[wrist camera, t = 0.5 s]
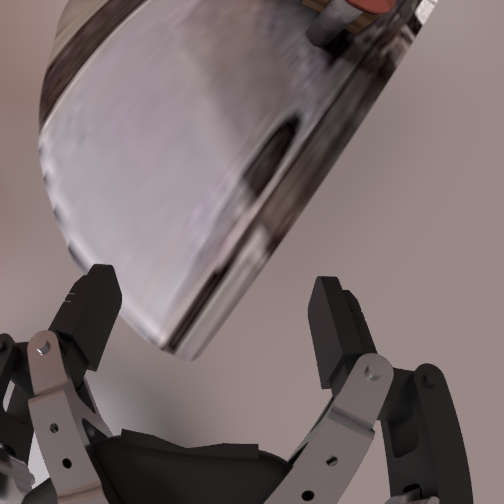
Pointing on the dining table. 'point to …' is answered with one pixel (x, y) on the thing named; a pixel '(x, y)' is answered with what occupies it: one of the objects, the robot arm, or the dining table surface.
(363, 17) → the brown striped block
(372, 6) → the copper-capped metal peg
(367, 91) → the dining table surface
